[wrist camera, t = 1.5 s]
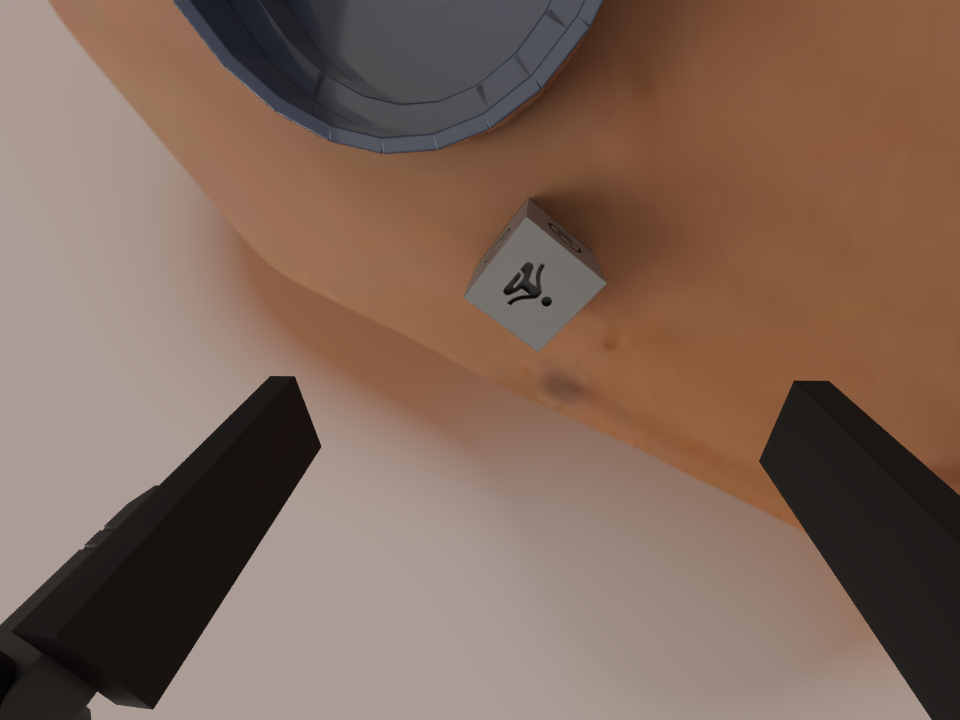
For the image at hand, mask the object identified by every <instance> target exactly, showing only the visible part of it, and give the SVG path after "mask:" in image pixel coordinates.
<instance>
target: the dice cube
mask: <svg viewBox="0 0 960 720" xmlns="http://www.w3.org/2000/svg"><path fill="white" fill-rule="evenodd" d="M606 284H607V282H606V280H605V277H604V275H603V273H602V271H601V268H600V266H599V264H598V262H597V259H596V257H595V255H594V253H593V252H592V251H590V250H589V249H588V248H587V247H586V246H585V245H583V244H582V243H581V242H580V241H579V240H577V239H576V238H575V237H574V236H573V235H571V234H570V233H569V232H568V231H567V230H566V229H564V228H563V227H562V226H561V225H560V224H558V223H557V222H556V221H555V220H554V219H552V218H551V217H550V216H549V215H548V214H547V213H545V212H544V211H543V210H542V209H541V208H539V207H538V206H537V205H536V204H535V203H533V202H532V201H531V200H530V199H529V198H528V199H527V200H526V201H525V203H524V204H523V205H522V207H521V208H520V209H519V211H518V212H517V213H516V215H515V216H514V217H513V218H512V220H511V221H510V222H509V224H508V225H507V226H506V228H505V229H504V230H503V232H502V233H501V234H500V236H499V237H498V238H497V240H496V241H495V242H494V243H493V245H492V246H491V247H490V249H489V250H488V251H487V253H486V254H485V255H484V257H483V258H482V259H481V261H480V262H479V263H478V265H477V266H476V268H475V270H474V273H473V275H472V278H471V280H470V282H469V285H468V287H467V290H466V292H465V295H464V297H463V298H465V299H466V300H467V301H469V302H470V303H472V304H473V305H474V306H476V307H477V308H478V309H480V310H481V311H483V312H484V313H485V314H487V315H488V316H489V317H491V318H492V319H494V320H495V321H496V322H498V323H499V324H500V325H502V326H503V327H504V328H506V329H507V330H509V331H510V332H511V333H513V334H514V335H515V336H517V337H518V338H520V339H521V340H522V341H524V342H525V343H526V344H528V345H529V346H531V347H532V348H533V349H535V350H536V351H537V352H539V351H540V350H541V349H542V348H543V347H544V346H545V345H546V344H547V343H548V342H549V341H550V340H551V339H552V338H553V337H554V336H555V335H556V334H557V333H558V332H559V331H560V330H561V329H562V328H563V327H564V326H565V325H566V324H567V323H568V322H569V321H570V320H571V319H572V318H573V317H574V316H575V315H576V314H577V313H578V312H579V311H580V310H581V309H582V308H583V307H584V306H585V305H586V304H587V303H588V302H589V301H590V300H591V299H592V298H593V297H594V296H595V295H596V294H597V293H598V292H599V291H600V290H601V289H602V288H603V287H604V286H605V285H606Z"/></svg>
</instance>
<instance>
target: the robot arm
mask: <svg viewBox="0 0 960 720" xmlns="http://www.w3.org/2000/svg"><path fill="white" fill-rule="evenodd" d="M320 448H321V444H320V441H319V439H318V436H317V434H316V431H315V429H314V426H313V423H312V421H311V418H310V415H309V413H308V410H307V407H306V405H305V402H304V400H303V397H302V394H301V392H300V389H299V386H298V384H297V381H296V378H295V377H294V376H270V377H269V378H268V379H267V380H266V381H265V382H264V383H263V384H262V385H261V386H260V387H259V388H258V389H257V390H256V391H255V392H254V393H253V394H252V395H251V396H250V397H249V398H248V399H247V400H246V401H245V402H244V403H243V404H242V405H240V406H239V407H238V408H237V410H235V411H234V412H233V414H231V415H230V416H229V417H228V419H226V420H225V421H224V422H223V423H222V424H221V425H220V426H219V427H218V428H217V429H216V430H215V431H214V432H213V433H212V434H211V435H210V436H209V437H208V438H207V439H206V440H205V441H204V442H203V443H202V444H201V445H200V446H199V447H198V448H197V449H196V450H195V451H194V452H193V453H192V454H191V455H190V456H189V457H188V458H187V459H186V460H185V461H184V462H183V463H182V464H181V465H180V466H179V467H178V468H177V469H176V470H175V471H173V472H172V473H171V475H170V476H168V477H167V478H166V479H165V480H164V481H163V482H162V483H161V484H160V485H159V486H154V487H152V488H151V489H149V490H148V491H146V492H145V493H143V494H142V495H140V496H139V497H137V498H136V499H134V500H133V501H131V502H130V503H128V504H127V505H126V506H125V507H124V508H123V509H122V510H121V511H120V512H118V514H116V515H115V516H114V517H113V518H112V519H111V520H110V521H109V522H108V523H107V524H106V525H105V528H104V530H102V531H101V530H100V531H99V532H98V533H96V534H95V535H94V536H93V537H92V538H91V539H90V540H89V541H88V542H87V543H86V544H85V548H84V549H83V550H79V551H78V552H77V553H75V555H73V556H72V557H71V558H70V559H69V560H68V561H67V562H66V563H65V564H64V565H63V566H62V567H61V568H60V569H59V570H58V571H57V572H56V573H54V574H53V575H52V576H51V578H49V579H48V580H47V581H46V582H45V583H44V584H43V585H42V586H41V587H40V588H39V589H38V590H37V591H36V592H35V593H34V594H32V596H31V597H29V598H28V599H27V600H26V601H25V602H24V603H23V604H22V605H21V606H20V607H19V608H18V609H17V610H16V611H15V612H14V613H13V614H12V615H10V616H9V617H8V618H7V619H6V620H5V621H4V622H3V623H2V624H1V625H0V720H91V712H90V709H89V708H88V707H86V706H87V704H88V703H89V702H90V700H91V699H92V698H93V696H94V695H95V693H96V692H97V691H98V692H99V693H100V694H102V695H103V696H105V697H106V698H108V699H109V700H110V701H112V702H113V703H115V704H117V705H123V706H131V707H138V708H146V709H154V707H155V706H156V704H157V703H158V701H159V700H160V698H161V697H162V695H163V693H164V692H165V690H166V689H167V687H168V686H169V684H170V682H171V681H172V679H173V678H174V676H175V674H176V673H177V671H178V670H179V668H180V667H181V665H182V664H183V662H184V661H185V659H186V657H187V656H188V654H189V653H190V651H191V650H192V648H193V647H194V645H195V643H196V642H197V640H198V639H199V637H200V635H201V634H202V633H203V631H204V629H205V628H206V626H207V625H208V623H209V622H210V620H211V618H212V617H213V615H214V614H215V612H216V611H217V609H218V608H219V606H220V604H221V603H222V601H223V600H224V598H225V596H226V595H227V593H228V592H229V590H230V589H231V587H232V586H233V584H234V583H235V581H236V579H237V578H238V576H239V575H240V573H241V572H242V570H243V568H244V567H245V565H246V564H247V562H248V561H249V559H250V558H251V556H252V554H253V553H254V551H255V550H256V548H257V546H258V545H259V543H260V542H261V540H262V539H263V537H264V536H265V534H266V532H267V531H268V529H269V528H270V526H271V525H272V523H273V522H274V520H275V518H276V517H277V515H278V514H279V512H280V511H281V509H282V507H283V506H284V504H285V503H286V501H287V500H288V498H289V497H290V495H291V493H292V492H293V490H294V489H295V487H296V485H297V484H298V482H299V481H300V479H301V478H302V476H303V475H304V473H305V472H306V470H307V468H308V467H309V465H310V464H311V462H312V461H313V459H314V458H315V456H316V454H317V453H318V451H319V450H320ZM759 462H760V463H761V465H762V466H763V468H764V469H765V471H766V472H767V474H768V475H769V477H770V478H771V480H772V481H773V483H774V484H775V486H776V487H777V489H778V490H779V492H780V493H781V495H782V496H783V498H784V499H785V501H786V502H787V504H788V505H789V507H790V508H791V510H792V511H793V513H794V514H795V516H796V517H797V519H798V520H799V522H800V523H801V525H802V526H803V528H804V529H805V531H806V532H807V534H808V535H809V537H810V538H811V540H812V541H813V543H814V544H815V546H816V547H817V549H818V550H819V552H820V553H821V555H822V556H823V558H824V559H825V561H826V562H827V564H828V565H829V567H830V568H831V570H832V571H833V573H834V574H835V576H836V577H837V579H838V580H839V582H840V583H841V585H842V586H843V588H844V589H845V590H846V592H847V594H848V595H849V597H850V598H851V600H852V601H853V603H854V604H855V606H856V607H857V608H858V610H859V611H860V613H861V614H862V616H863V618H864V619H865V621H866V622H867V624H868V625H869V627H870V628H871V629H872V631H873V632H874V634H875V635H876V637H877V639H878V640H879V642H880V643H881V644H882V646H883V648H884V649H885V651H886V652H887V653H888V655H889V656H890V658H891V659H892V661H893V662H894V664H895V665H896V667H897V668H898V670H899V671H900V673H901V674H902V676H903V677H904V679H905V680H906V682H907V683H908V685H909V686H910V688H911V689H912V691H913V692H914V694H915V695H916V697H917V698H918V700H919V701H920V703H921V704H922V706H923V707H924V709H925V710H926V712H927V713H928V715H929V716H930V718H931V719H932V720H960V496H959V495H958V494H957V493H956V492H955V491H954V490H953V489H951V488H950V487H949V486H948V485H947V484H946V483H945V482H943V481H942V480H941V479H940V478H939V477H938V476H937V475H935V474H934V473H933V472H932V471H931V470H930V469H929V468H928V467H926V466H925V465H924V464H923V463H922V462H921V461H920V460H918V459H917V458H916V457H915V456H914V455H913V454H912V453H910V452H909V451H908V450H907V449H906V448H905V447H904V446H902V445H901V444H900V443H899V442H898V441H897V440H896V439H894V438H893V437H892V436H891V435H890V434H889V433H888V432H886V431H885V430H884V429H883V428H882V427H881V426H880V425H878V424H877V423H876V422H875V421H874V420H873V419H872V418H870V417H869V416H868V415H867V414H866V413H865V412H864V411H862V410H861V409H860V408H859V407H858V406H857V405H856V404H854V403H853V402H852V401H851V400H850V399H849V398H848V397H847V396H845V395H844V394H843V393H842V392H841V391H840V390H839V389H837V388H836V387H835V386H834V385H833V384H832V383H831V382H829V381H794V382H793V384H792V387H791V389H790V391H789V394H788V396H787V398H786V400H785V403H784V405H783V407H782V410H781V412H780V414H779V417H778V419H777V421H776V423H775V426H774V428H773V430H772V433H771V435H770V437H769V440H768V442H767V444H766V446H765V449H764V451H763V453H762V456H761V458H760V460H759Z"/></svg>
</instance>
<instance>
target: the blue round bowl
mask: <svg viewBox="0 0 960 720" xmlns="http://www.w3.org/2000/svg"><path fill="white" fill-rule="evenodd" d="M173 1H174V3H175V5H176V6H177V7H178V9H179V10H180V11H181V13H182V14H183V15H184V16H185V18H186V19H187V20H188V22H189V23H190V24H191V25H192V27H193V28H194V29H195V31H196V32H197V33H198V34H199V36H200V37H201V38H202V40H203V41H204V42H205V43H206V45H207V46H208V47H209V49H210V50H211V51H212V52H213V54H214V55H215V56H216V57H217V59H218V60H219V61H220V63H221V64H222V65H223V66H225V68H226V69H227V70H228V71H229V72H230V73H232V74H233V75H234V76H235V77H236V78H237V79H238V80H240V81H241V82H242V83H243V84H244V85H245V86H246V87H248V88H249V89H250V90H251V91H252V92H253V93H254V94H256V95H257V96H258V97H259V98H260V99H261V100H262V101H263V102H265V103H266V104H267V105H268V106H269V107H270V108H271V109H273V110H274V111H275V112H277V113H278V114H279V115H281V116H283V117H285V118H287V119H289V120H291V121H292V122H294V123H296V124H298V125H300V126H302V127H303V128H305V129H307V130H309V131H311V132H313V133H315V134H316V135H318V136H320V137H322V138H324V139H326V140H327V141H331V142H333V143H338V144H342V145H346V146H350V147H355V148H359V149H363V150H367V151H372V152H376V153H380V154H383V153H384V154H394V153H408V152H423V151H436V150H440V149H443V148H447V147H450V146H454V145H457V144H460V143H463V142H465V141H468V140H470V139H473V138H476V137H478V136H481V135H483V134H486V133H488V132H491V131H493V130H496V129H499V128H500V127H502V126H503V125H505V124H506V123H507V122H509V121H510V120H511V119H513V118H514V117H515V116H516V115H518V114H519V113H520V112H522V111H523V110H524V109H526V108H527V107H528V106H530V105H531V104H532V103H533V102H535V101H536V100H537V99H539V97H540V96H542V94H543V93H544V92H545V91H546V89H547V88H548V87H549V86H550V84H551V83H552V82H553V81H554V79H555V78H556V77H557V76H558V74H559V73H560V72H561V71H562V69H563V68H564V67H565V65H566V64H567V63H568V62H569V60H570V59H571V58H572V57H573V55H574V54H575V53H576V51H577V50H578V48H579V46H580V44H581V43H582V41H583V39H584V38H585V36H586V34H587V33H588V31H589V29H590V28H591V26H592V24H593V22H594V20H595V18H596V16H597V14H598V12H599V10H600V8H601V6H602V4H603V2H604V0H173Z"/></svg>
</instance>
